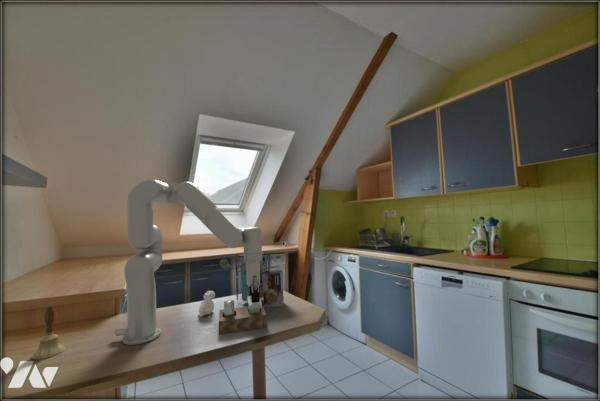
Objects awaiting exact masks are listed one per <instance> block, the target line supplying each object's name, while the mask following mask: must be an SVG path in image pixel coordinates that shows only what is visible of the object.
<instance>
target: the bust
mask: <svg viewBox="0 0 600 401" xmlns="http://www.w3.org/2000/svg"><path fill="white" fill-rule="evenodd" d="M215 297H216V293H215V291H214V290H207V291H206V292H205V293H204V294H203V299H204V300H202V301H201V303H200V306H199V307H198V314H199V317H200V318H202V317H204V316H206V315H207V316H208V315H211V314H212V313H213V311H214V309H215V303H214V301H213V299H214V298H215Z"/></svg>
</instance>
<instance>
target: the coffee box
mask: <svg viewBox="0 0 600 401" xmlns="http://www.w3.org/2000/svg"><path fill="white" fill-rule="evenodd" d="M262 276H263V298H262V299H263V308H275V307H276V308H279V307H280V308H282V307H283V305H284V302H285V299H284V298H285V297H284V281H283V280H284V279H283V278H284V275H283V269H277V270H274V269H270V271H268V270H267V271H265V272H264V273H263V274H262Z"/></svg>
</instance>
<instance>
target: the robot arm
mask: <svg viewBox="0 0 600 401" xmlns="http://www.w3.org/2000/svg"><path fill="white" fill-rule="evenodd" d="M153 203H160V204H161V203H166V204H167V203H169V204H182V205H183V206H184V207H185V208H187V210H189V211H190V212H191V213H192V214H193V215H194V216H195V218H197V219H198V220H199V221H200V222H201V223H202V224H203V226H205V227H206V228H207V229H208V230H209V231H210V232H211V233H212V234H213V235H214V236H215V237H216V238H217V239H218V240H219V241H220V242H221V243H222V244H224V245H225V246H226V247H228V248H231V249H234V248H238V247H240V245H242V244H243V254H244V255H243V257H244V262H246V275H247V285H248V287H249V293H250V295H251V301H252V303H256V302H260V300H261V298H260V294H259V285H260V261H261V260H262V255H263V253H262V252H263V248H262V247H263V246H262V244H263V242H262V229H261V228H260V227H258V226H249V227H236V226H235V225H233V224H232V223H231V222H230V221H229V220H228V218H227V217H225V216H224V214H223V213H222V211H221V210H220V208H219V207H218V206H217V205H216V204H215V203H214V202H213V201H212V200H211V199H210V198H209V197H207V195H206V194H205V193H204V192H203V191H201V190H200V188H199V186H197V185H196V184H195V183H192V182H191V181H183V182H180V183H176V182H175V183H172V182H163V181H160V180H158V179H153V178H152V179H145V180H142V181H140V182H139V183H137V184H136V185H134V186H133V187H132V188H131V190H130V192H129V194H128V196H127V207H126V209H127V222H126V223H127V230H126V231H127V235H126V236H127V237H126V238H127V244H128V245H129V246H130V247H131V248H132V249H134V250H136V254H134V255H132V256H131V257H129V259H127V260H126V263H125V265H124V268H123V269H124V270H123V272H124V279H125V283H126V284H125V285H126V301H127V302H126V312H127V314H126V318H127V319H126V322H127V326H125V327H122V328H115V330H114V334H115V336H116V337H120V336H123V337H122V343H123V344H124V345H127V346H136V345H141V344H145V343H148V342H150V341H153V340H155V339H157V338H158V337H159V336H161V334H162V328H160V327H158V326H157V321H158V320H157V284H156V278H155V272H156V271H158V270H159V268H160V267H161V265H162V263H163V237H162V234H163V233H162V231H161V230H160V228H159V227H158V226H157V224H156V225H155V224H154V210H153Z"/></svg>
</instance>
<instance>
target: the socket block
mask: <svg viewBox="0 0 600 401" xmlns="http://www.w3.org/2000/svg"><path fill="white" fill-rule="evenodd" d="M234 314H235V316H230V317H224V308H223V309H219V313H218V335H226V334H232V333H238V332H245V331H247V332H248V331H252V330H260V329H265V328H266V329H267V313H266V311H265V307H264V304H262V308H260V312H257V313H250V314H249V306H248V305H246V306H242V307H241V306H239V307H234Z"/></svg>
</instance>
